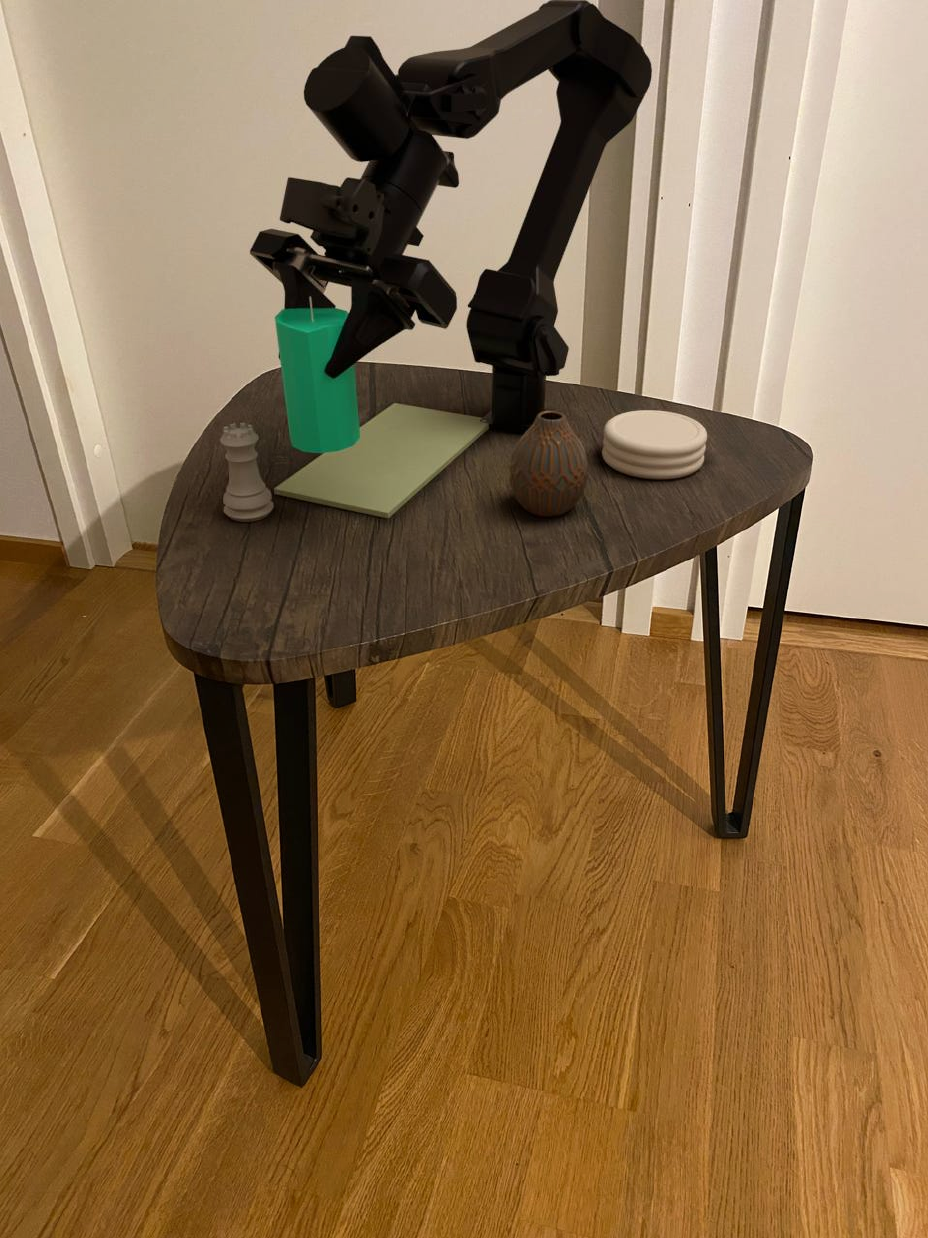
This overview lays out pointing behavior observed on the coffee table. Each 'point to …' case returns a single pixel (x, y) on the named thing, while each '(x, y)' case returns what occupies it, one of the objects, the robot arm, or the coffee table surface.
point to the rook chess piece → (244, 476)
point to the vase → (548, 466)
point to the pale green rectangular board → (386, 460)
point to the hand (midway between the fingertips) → (305, 368)
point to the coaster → (654, 444)
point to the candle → (316, 380)
